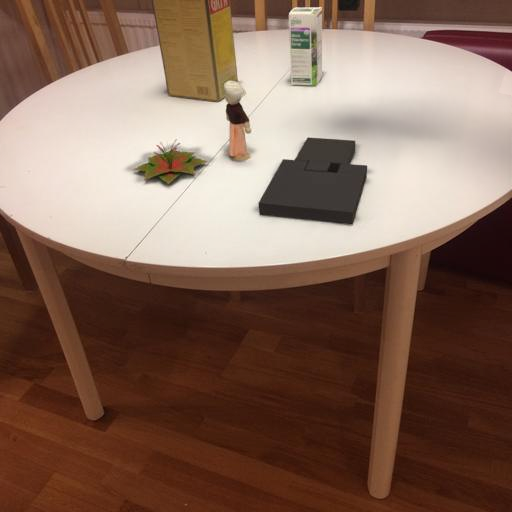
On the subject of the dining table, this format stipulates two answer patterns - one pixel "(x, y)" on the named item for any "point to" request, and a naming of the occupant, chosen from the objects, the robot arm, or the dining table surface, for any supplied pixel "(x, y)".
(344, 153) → the small pad
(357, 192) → the base pad
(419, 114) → the dining table surface
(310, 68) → the syrup box
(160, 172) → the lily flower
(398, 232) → the dining table surface
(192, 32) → the food packaging
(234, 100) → the grandmother figurine
